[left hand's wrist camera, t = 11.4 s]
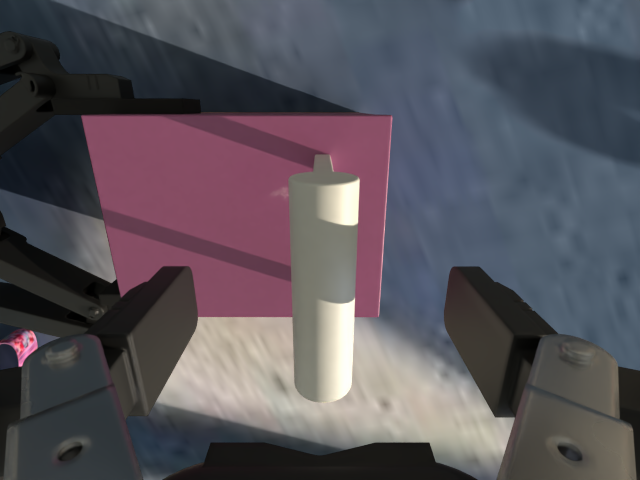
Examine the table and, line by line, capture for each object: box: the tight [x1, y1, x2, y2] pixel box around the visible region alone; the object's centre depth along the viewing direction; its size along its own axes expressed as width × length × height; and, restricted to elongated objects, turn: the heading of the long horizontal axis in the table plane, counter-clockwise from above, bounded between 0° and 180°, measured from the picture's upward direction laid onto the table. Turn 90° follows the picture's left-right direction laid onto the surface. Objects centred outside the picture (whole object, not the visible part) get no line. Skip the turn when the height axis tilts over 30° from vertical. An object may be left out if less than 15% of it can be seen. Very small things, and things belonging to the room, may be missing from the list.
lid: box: [81, 115, 392, 403], centre depth 14 cm, size 14×10×9 cm
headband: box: [0, 328, 37, 367], centre depth 32 cm, size 11×4×2 cm, turn 158°
